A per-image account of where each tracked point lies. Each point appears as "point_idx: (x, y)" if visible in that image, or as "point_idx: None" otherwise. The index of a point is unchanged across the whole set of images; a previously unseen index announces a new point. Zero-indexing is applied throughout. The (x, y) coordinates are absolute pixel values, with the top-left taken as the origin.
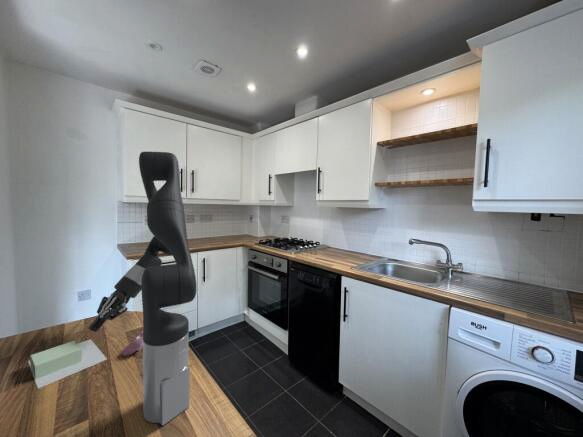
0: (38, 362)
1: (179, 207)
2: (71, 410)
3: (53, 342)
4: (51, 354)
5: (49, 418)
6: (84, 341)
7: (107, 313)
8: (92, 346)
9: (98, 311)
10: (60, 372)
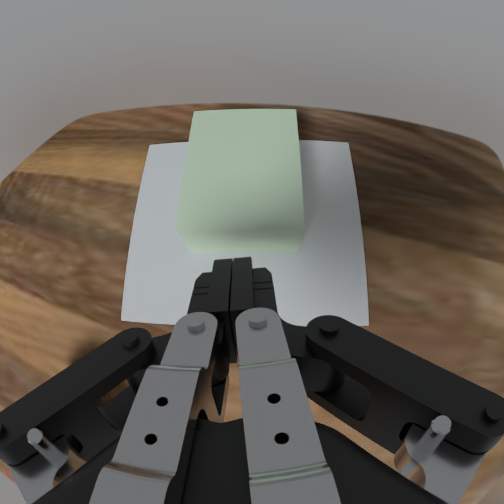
0: (212, 117)
1: None
2: (22, 195)
3: (443, 219)
4: (238, 147)
5: (39, 165)
6: (366, 300)
7: (125, 358)
8: (285, 314)
9: (315, 328)
10: (178, 190)
